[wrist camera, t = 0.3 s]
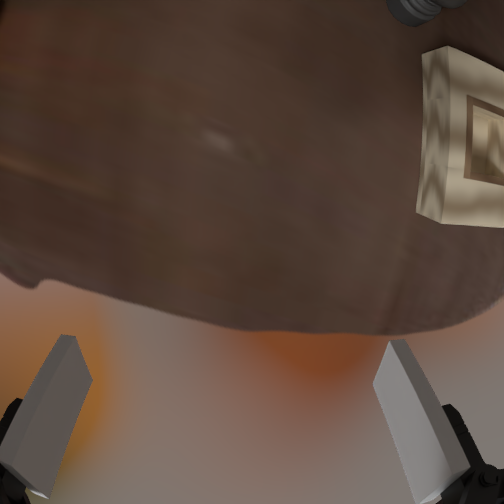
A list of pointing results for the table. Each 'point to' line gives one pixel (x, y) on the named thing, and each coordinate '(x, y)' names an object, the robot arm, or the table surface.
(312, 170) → the table surface
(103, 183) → the table surface
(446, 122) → the socket block
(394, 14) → the candle holder
